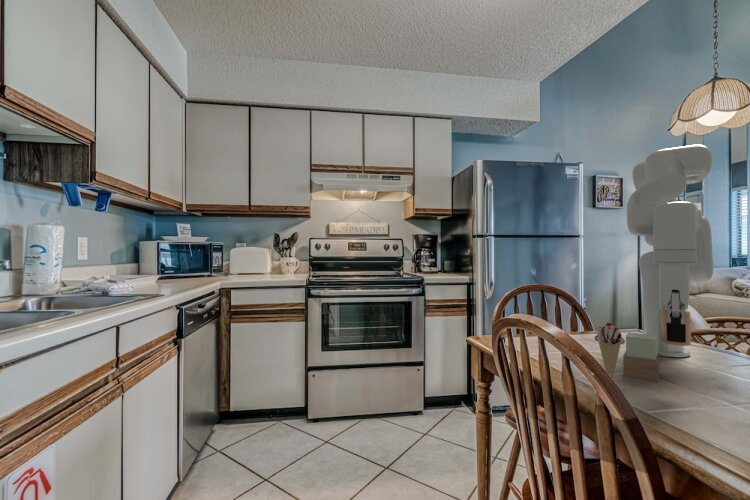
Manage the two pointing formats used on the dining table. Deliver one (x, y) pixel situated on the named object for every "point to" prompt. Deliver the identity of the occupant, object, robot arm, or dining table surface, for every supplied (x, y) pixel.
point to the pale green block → (641, 346)
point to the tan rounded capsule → (686, 321)
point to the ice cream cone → (609, 346)
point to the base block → (641, 367)
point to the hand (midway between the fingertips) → (676, 337)
